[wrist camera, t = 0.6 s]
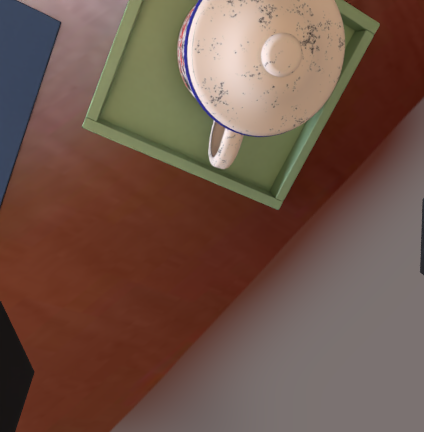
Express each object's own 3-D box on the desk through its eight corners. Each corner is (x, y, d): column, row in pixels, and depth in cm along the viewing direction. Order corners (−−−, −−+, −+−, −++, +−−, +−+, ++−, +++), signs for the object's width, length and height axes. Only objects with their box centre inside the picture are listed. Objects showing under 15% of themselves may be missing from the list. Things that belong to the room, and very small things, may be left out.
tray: (271, 202, 35) (278, 210, 33) (85, 123, 30) (81, 127, 29) (366, 25, 31) (380, 23, 29) (167, -100, 26) (170, -112, 24)
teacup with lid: (191, -36, 27) (224, -92, 17) (310, 9, 30) (404, -15, 19) (150, 135, 31) (155, 178, 21) (257, 163, 34) (312, 215, 23)
